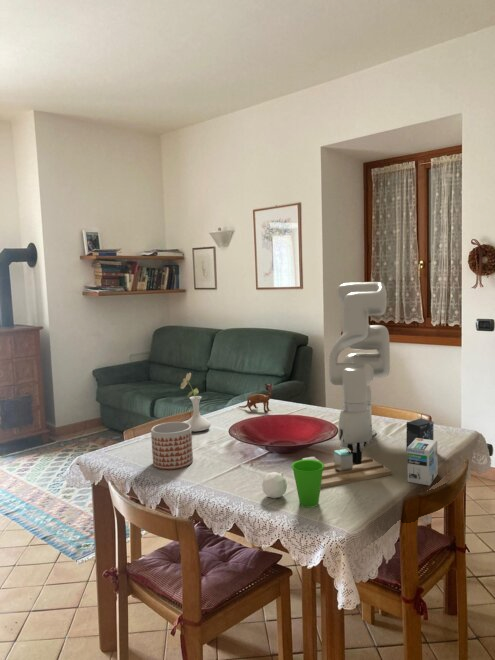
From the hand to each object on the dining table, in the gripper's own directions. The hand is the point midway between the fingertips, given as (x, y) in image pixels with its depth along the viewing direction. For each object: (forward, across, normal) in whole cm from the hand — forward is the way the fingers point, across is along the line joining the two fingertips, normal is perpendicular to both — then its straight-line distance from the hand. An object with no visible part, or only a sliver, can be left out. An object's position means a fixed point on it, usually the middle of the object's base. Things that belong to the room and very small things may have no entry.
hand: (356, 462), depth 166 cm
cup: (+3, +24, +15) cm, 28 cm away
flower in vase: (+3, +36, -67) cm, 77 cm away
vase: (+3, +52, -33) cm, 62 cm away
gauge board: (+3, +5, 0) cm, 6 cm away
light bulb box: (+3, -15, +13) cm, 20 cm away
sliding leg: (+1, +5, 0) cm, 5 cm away
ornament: (+3, +31, +7) cm, 32 cm away
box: (+3, -29, -7) cm, 30 cm away
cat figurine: (+3, +3, -85) cm, 85 cm away
